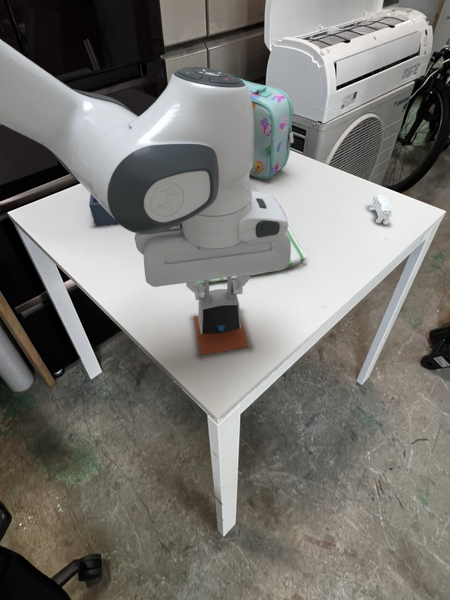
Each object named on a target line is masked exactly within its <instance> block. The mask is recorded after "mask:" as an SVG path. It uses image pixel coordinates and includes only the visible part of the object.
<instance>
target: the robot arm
mask: <svg viewBox="0 0 450 600" xmlns="http://www.w3.org/2000/svg"><path fill="white" fill-rule="evenodd" d="M239 78H240V77H237V76H235V75H233V74H231V73H229V72H226V71H223V70H220V69H213V68H211V67H201V66H200V67H199V66H187V67H182V68H180V69H177V70H175V71H173V72H172V74H171V76H170V79H169V82H168V83H167V85H166V88H165V89H164V90H163V92H162V93H161V94H160V95H159V96H158V98H157V99H156V100H155V101H154V102H153V103H152V104H151V105H150V106H149V107H148V109H146V110H145V111H143V113H142V114H140V115H137V114H135V112H133V111H132V110H131V109H129V108H128V107H127V106H126V105H125V104H123V103H122V102H121V101H119V100H117V99H115V98H113V97H110V96H107V95H104V94H99V93H93V92H89V91H84V90H83V91H82V90H79V89H75V88H73V87H71V86H69V85H67V84H66V83H64V82H63V81H61V80H59V79H58V78H57V77H54V75H52V74H51V73H49V72H47V71H46V70H45V69H44V68H43V67H40V66H39V65H38V64H36V63H35V62H34V61H32V60H30V59H29V58H28V57H26V56H25V55H24V54H22V53H21V52H19V51H17V50H16V49H15V48H13V47H12V46H11V45H9V44H8V43H7V42H5V41H3V40H2V39H1V38H0V124H1V125H3V126H5V127H7V128H8V129H11V130H12V131H14V132H16V133H19V134H21V135H22V136H23V137H26V138H28V139H30V140H32V141H34V142H36V143H38V144H40V145H42V146H44V147H45V148H46V149H48V150H49V151H50V152H51V154H53V155H54V157H55V158H56V160H57V161H58V162H59V163H60V165H61V166H62V167H63V168H64V169H65V170H66V171H67V173H69V175H71V176H72V178H74V179H75V180H76V181H77V182H79V184H81V185H82V186H83V187H84V188H85V189H86V191H88V193H89V194H90V195H91V194H92V196H93V197H94V198H95V199H96V200H97V201H98V202H99V203H100V205H101V206H102V207H103V208H104V209H105V210H106V211H107V212H108V213H109V214H110V215H111V216H112V217H113V218H114V219H115V220H116V221H117V222H118V223H119V224H118V225H120V226H121V227H122V228H123V229H125V230H127V231H129V232H131V233H134V243H135V246H136V249H137V250H138V252H139V253H140V254H141V255H143V268H144V278H145V282H146V283H147V284H148V285H150V286H151V287H153V288H159V287H165V286H173V285H179V284H180V285H181V284H186V288H188V289H189V290H190V291H191V292H192V293H193V294H194V298H195V301H199V300H201V299H205V287H204V283H202V284H197V283H196V281H203V280H211V279H218V278H226V277H233V276H238V277H237V278H233V279H232V294H233V295H237V296H238V295H243V290H244V289H243V288H244V287H245V285H246V284H247V283H248V282H249V280H250V279H251V276H252V275H251V274H256V273H261V274H264V273H263V272H266V273H271V272H270V271H272V272H277V271H283V270H285V269H287V268H288V267H287V266H288V265H289V263H290V256H291V242H290V238H289V235H288V233H287V228H288V226H289V222H288V218H287V216H286V213H285V210H284V209H283V207H282V205H281V204H280V202H279V201H278V199H277V198H276V197H275V196H274V195H273V194H270V193H265V192H259V191H254V190H252V186H251V184H250V175H249V174H250V171H251V168H252V165H253V156H254V118H253V107H252V101H251V96H250V92H249V90H248V87H247V85H246V84H245V83H244V82H243V81H242V80H243V79H242V78H240V79H239ZM241 79H242V80H241ZM286 267H287V268H286ZM256 275H257V274H256Z"/></svg>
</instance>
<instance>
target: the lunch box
mask: <svg viewBox="0 0 450 600" xmlns="http://www.w3.org/2000/svg"><path fill="white" fill-rule="evenodd" d="M238 78H239V79H241V80H242V81H243V82H244V83H245V84H246V85H247V87H248V90H249V92H250V96H251V101H252V107H253V118H254V156H253V165H252V168H251V171H250V174H249V176H251V177H253V178H255V179H260V180H266V179H267V180H268V179H270V178H271V177H272V176H273V175H275V174H276V173H277V172H278V171H279V170H282V169H284V168H285V167H286V165H287V163H288V161H289V157H290V154H291V145H292V144H293V143H294V142H295V141H294V133H293V132H292V130H293V116H294V105H293V102H292V100H291V97H290V96H289V95H288V93H286V92H285V91H284V90H282V89H280V88H277V87H274V86H269V85H265V84H259V83H256V82H251V81H248V80H244V79H242V78H240V77H238Z"/></svg>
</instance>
